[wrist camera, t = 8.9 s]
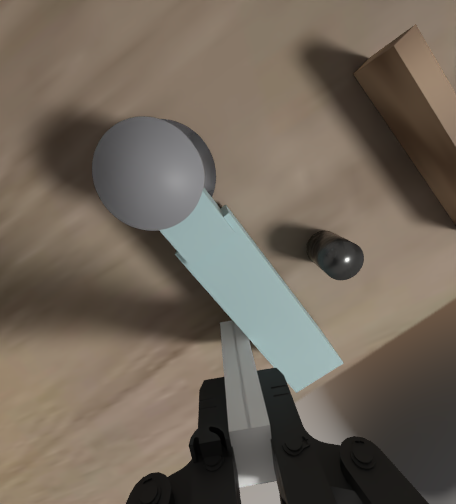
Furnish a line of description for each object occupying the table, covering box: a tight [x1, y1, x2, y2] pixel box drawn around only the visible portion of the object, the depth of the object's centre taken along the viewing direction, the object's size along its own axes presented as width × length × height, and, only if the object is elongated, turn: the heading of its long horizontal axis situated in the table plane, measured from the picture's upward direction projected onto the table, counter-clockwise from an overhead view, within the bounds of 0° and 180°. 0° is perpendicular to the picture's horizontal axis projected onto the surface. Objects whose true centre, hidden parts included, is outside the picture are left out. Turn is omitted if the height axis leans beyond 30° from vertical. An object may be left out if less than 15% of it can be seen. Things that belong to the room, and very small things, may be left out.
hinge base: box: [161, 119, 364, 280], centre depth 13 cm, size 12×7×2 cm, turn 44°
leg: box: [92, 117, 343, 393], centre depth 13 cm, size 4×15×4 cm, turn 37°
